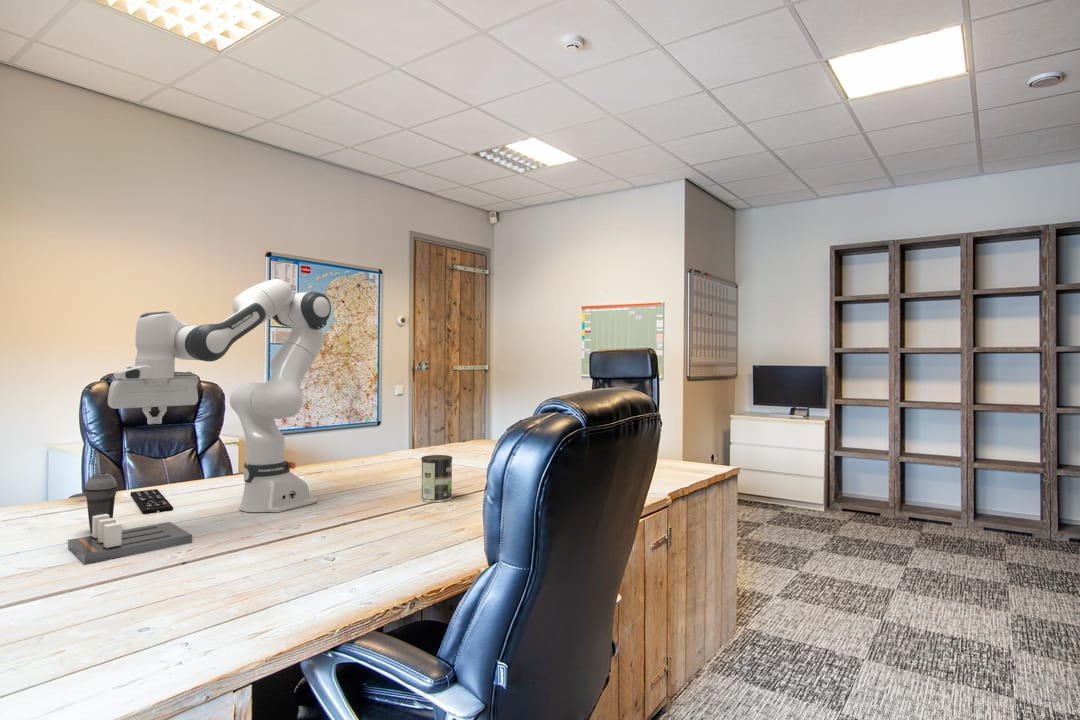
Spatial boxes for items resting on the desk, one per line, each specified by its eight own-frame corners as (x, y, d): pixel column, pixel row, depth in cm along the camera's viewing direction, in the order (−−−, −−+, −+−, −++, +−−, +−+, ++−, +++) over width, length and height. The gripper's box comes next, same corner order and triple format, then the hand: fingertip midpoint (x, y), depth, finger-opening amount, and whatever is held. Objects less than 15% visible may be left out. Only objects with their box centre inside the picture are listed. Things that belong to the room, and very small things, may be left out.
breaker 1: (106, 533, 149) (107, 513, 149) (109, 535, 147) (109, 515, 147) (92, 536, 147) (92, 516, 147) (94, 538, 145) (94, 517, 145)
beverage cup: (99, 536, 154) (100, 459, 154) (76, 534, 156) (77, 458, 156) (124, 528, 161) (124, 455, 161) (102, 526, 163) (102, 454, 163)
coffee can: (454, 495, 204) (454, 454, 204) (449, 502, 193) (449, 459, 193) (424, 495, 204) (424, 454, 204) (417, 502, 194) (418, 459, 194)
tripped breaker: (118, 542, 142) (118, 522, 142) (121, 545, 140) (121, 524, 140) (103, 545, 139) (103, 524, 139) (106, 548, 138) (106, 526, 138)
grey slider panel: (169, 529, 161) (169, 521, 161) (192, 542, 150) (192, 534, 150) (67, 548, 144) (67, 539, 144) (84, 564, 133) (84, 555, 133)
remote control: (143, 516, 175) (143, 509, 175) (130, 496, 199) (130, 490, 199) (173, 512, 180) (173, 505, 180) (157, 493, 204) (157, 487, 204)
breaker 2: (112, 538, 145) (113, 517, 145) (115, 540, 144) (115, 519, 144) (98, 540, 143) (98, 520, 143) (100, 542, 141) (100, 522, 141)
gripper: (193, 371, 167) (193, 420, 167) (106, 372, 152) (105, 425, 152) (202, 371, 163) (201, 421, 163) (112, 372, 148) (112, 427, 148)
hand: (154, 423), depth 157 cm, fingers closed
